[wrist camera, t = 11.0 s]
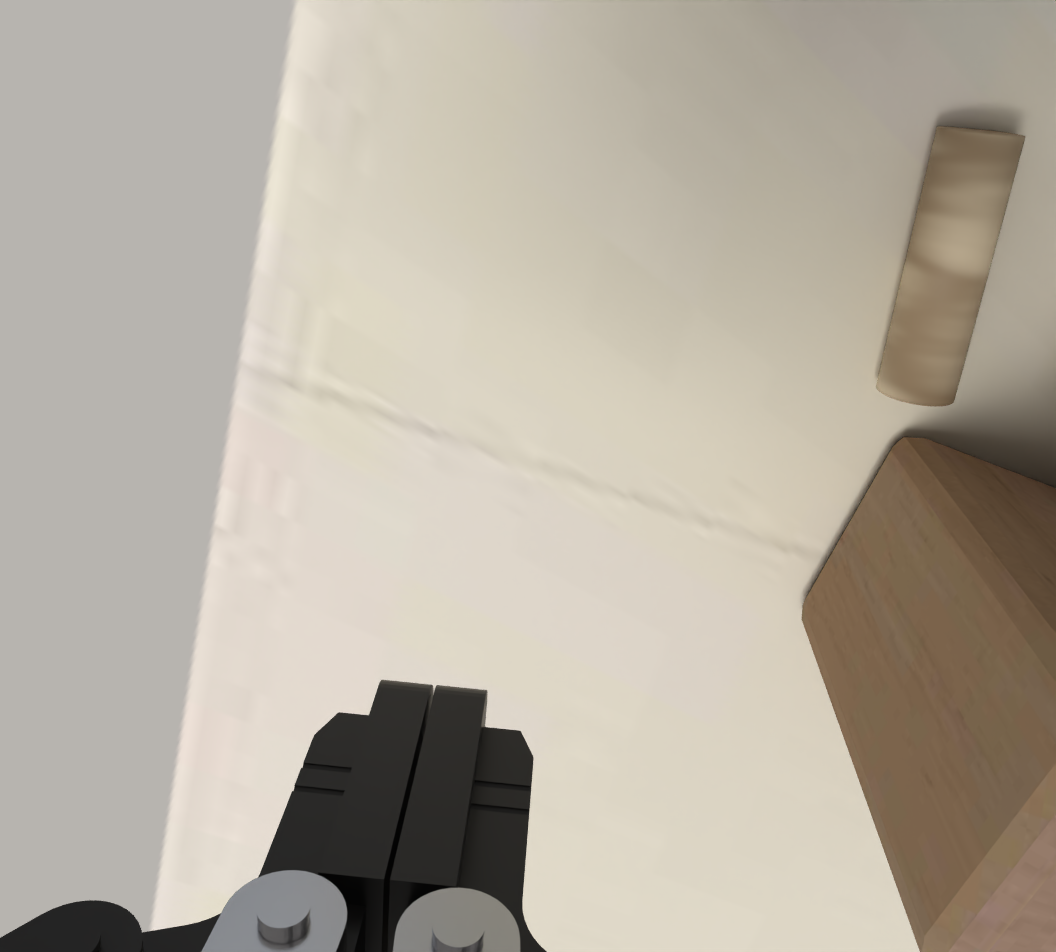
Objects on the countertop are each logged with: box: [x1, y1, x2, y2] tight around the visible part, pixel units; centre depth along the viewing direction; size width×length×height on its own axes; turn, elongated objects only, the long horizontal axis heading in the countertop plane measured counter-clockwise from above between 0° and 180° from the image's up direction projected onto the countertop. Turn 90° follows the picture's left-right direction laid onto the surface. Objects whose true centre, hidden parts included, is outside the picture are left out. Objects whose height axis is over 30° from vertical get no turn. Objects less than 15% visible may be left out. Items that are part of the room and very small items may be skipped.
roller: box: [876, 126, 1025, 406], centre depth 38 cm, size 10×3×3 cm
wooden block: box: [802, 437, 1056, 952], centre depth 36 cm, size 10×10×20 cm
